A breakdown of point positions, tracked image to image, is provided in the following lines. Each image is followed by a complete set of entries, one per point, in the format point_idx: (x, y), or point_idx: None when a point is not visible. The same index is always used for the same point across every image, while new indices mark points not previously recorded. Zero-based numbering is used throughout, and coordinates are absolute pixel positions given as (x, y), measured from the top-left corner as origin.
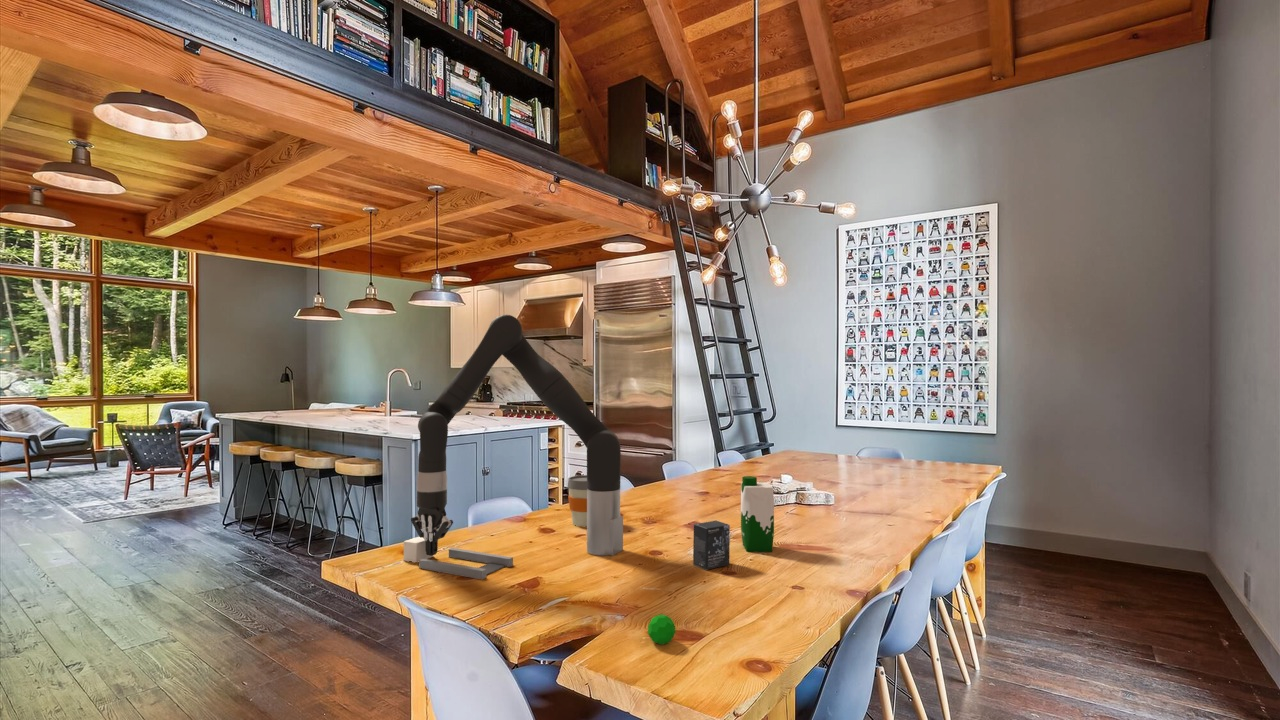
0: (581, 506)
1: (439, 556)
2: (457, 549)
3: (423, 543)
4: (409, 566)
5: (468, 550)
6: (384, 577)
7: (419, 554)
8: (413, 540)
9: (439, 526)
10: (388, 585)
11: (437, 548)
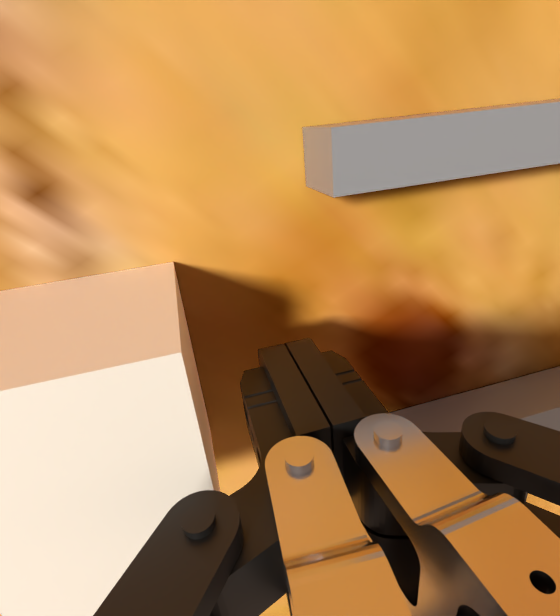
0: None
1: (217, 223)
2: (420, 146)
3: (212, 476)
4: (241, 482)
5: (540, 107)
6: (287, 605)
7: (210, 442)
8: (83, 567)
9: (555, 580)
10: None
11: (352, 369)
